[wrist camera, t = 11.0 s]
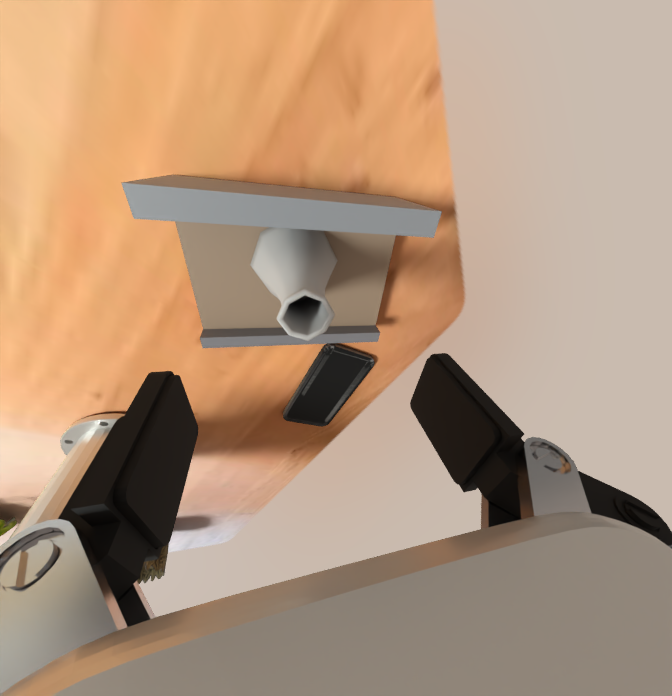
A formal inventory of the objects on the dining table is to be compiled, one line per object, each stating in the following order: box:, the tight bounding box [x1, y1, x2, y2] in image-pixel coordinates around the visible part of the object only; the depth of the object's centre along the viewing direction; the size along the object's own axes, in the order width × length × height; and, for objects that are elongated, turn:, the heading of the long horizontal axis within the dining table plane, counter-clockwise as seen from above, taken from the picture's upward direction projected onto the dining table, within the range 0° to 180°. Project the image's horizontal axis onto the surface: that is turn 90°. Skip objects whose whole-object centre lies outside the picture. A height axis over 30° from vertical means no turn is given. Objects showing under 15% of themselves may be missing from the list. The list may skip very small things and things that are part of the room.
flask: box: [250, 227, 337, 341], centre depth 18 cm, size 7×7×10 cm
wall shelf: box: [122, 175, 442, 348], centre depth 21 cm, size 14×18×8 cm
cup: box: [137, 545, 168, 584], centre depth 47 cm, size 8×7×8 cm
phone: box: [283, 343, 374, 426], centre depth 35 cm, size 8×1×15 cm
